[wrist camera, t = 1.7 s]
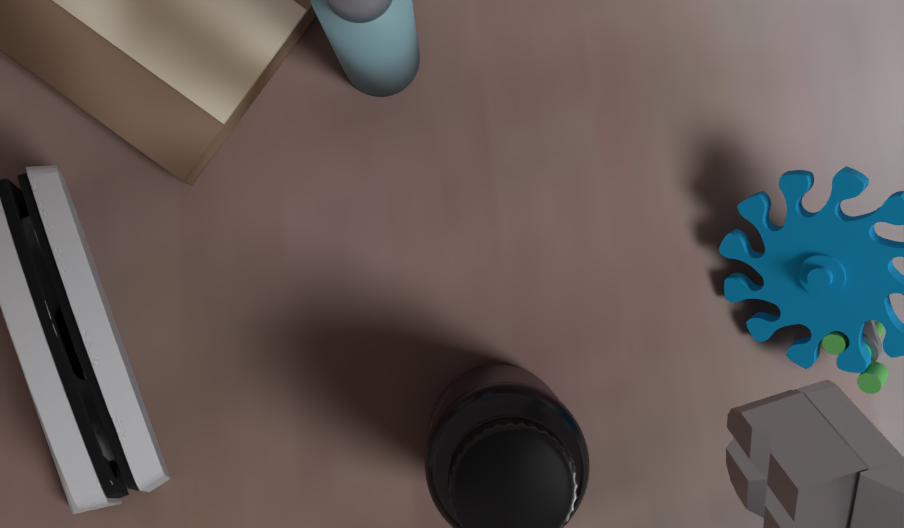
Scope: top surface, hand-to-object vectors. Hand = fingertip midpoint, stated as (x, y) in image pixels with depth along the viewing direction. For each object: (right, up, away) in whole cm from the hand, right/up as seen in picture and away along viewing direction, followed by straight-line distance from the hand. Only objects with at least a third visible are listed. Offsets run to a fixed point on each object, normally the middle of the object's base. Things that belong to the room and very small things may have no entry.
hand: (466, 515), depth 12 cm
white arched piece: (-18, 0, +31) cm, 36 cm away
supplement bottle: (+2, -5, +31) cm, 31 cm away
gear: (+18, +3, +31) cm, 36 cm away
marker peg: (-4, +14, +31) cm, 34 cm away
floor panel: (-15, +17, +31) cm, 39 cm away
